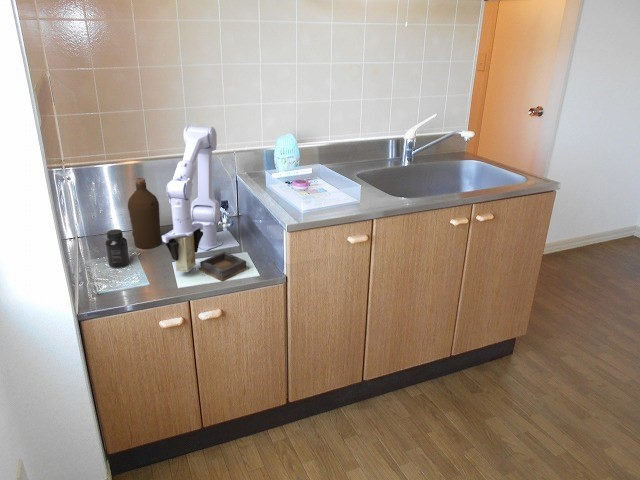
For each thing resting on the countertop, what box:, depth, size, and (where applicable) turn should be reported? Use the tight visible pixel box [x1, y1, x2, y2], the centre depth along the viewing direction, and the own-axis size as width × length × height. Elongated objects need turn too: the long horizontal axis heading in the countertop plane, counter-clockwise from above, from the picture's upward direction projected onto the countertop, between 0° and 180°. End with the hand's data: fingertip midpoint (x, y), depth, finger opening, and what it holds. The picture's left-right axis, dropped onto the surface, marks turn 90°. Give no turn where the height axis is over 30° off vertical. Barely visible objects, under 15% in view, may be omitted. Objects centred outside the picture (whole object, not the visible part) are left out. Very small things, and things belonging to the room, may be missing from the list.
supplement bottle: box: [104, 228, 130, 269], centre depth 166 cm, size 7×7×12 cm
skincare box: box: [174, 234, 197, 273], centre depth 161 cm, size 6×4×12 cm
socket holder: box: [197, 251, 250, 282], centre depth 167 cm, size 12×12×3 cm
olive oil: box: [127, 177, 162, 250], centre depth 179 cm, size 11×11×25 cm
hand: (185, 255), depth 162 cm, fingers closed on skincare box, 7 cm apart
